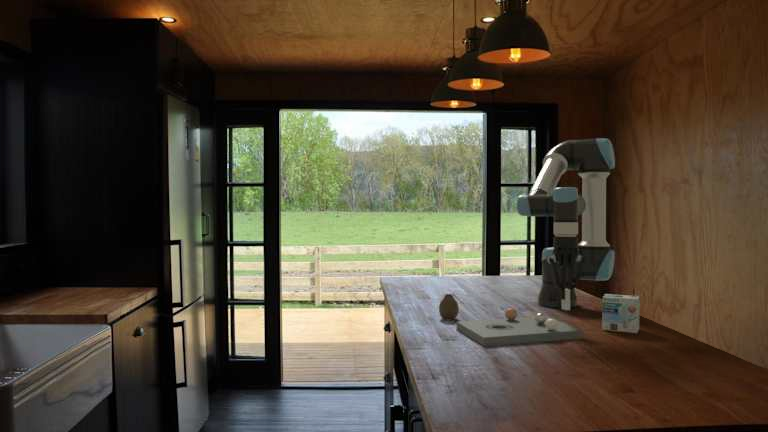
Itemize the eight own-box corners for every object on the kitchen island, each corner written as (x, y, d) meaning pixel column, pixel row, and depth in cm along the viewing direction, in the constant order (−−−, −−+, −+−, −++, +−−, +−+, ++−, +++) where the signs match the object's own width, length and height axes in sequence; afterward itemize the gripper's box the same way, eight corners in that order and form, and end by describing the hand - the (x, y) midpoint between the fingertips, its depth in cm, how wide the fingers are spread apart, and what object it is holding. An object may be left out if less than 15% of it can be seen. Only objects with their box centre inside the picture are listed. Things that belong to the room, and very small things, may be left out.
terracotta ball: (513, 318, 190) (513, 306, 190) (519, 320, 186) (519, 308, 186) (502, 319, 189) (502, 307, 189) (508, 321, 185) (508, 309, 185)
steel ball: (542, 322, 183) (542, 311, 182) (548, 325, 179) (548, 313, 179) (532, 323, 182) (532, 312, 182) (538, 325, 178) (538, 314, 178)
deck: (546, 323, 193) (546, 315, 193) (582, 338, 172) (582, 330, 172) (456, 329, 186) (456, 321, 186) (483, 346, 164) (483, 337, 164)
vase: (452, 322, 197) (452, 296, 197) (435, 319, 201) (435, 294, 201) (462, 318, 203) (462, 293, 202) (445, 316, 207) (445, 292, 207)
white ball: (553, 328, 174) (553, 317, 174) (559, 331, 171) (559, 319, 170) (543, 329, 173) (543, 318, 173) (549, 332, 170) (549, 320, 170)
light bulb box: (601, 330, 182) (601, 296, 182) (604, 326, 188) (604, 293, 188) (638, 333, 177) (638, 298, 177) (639, 329, 183) (639, 295, 183)
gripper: (577, 234, 187) (577, 306, 187) (541, 235, 184) (541, 308, 184) (590, 235, 179) (590, 310, 180) (553, 236, 176) (553, 312, 177)
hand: (565, 309), depth 182 cm, fingers closed
